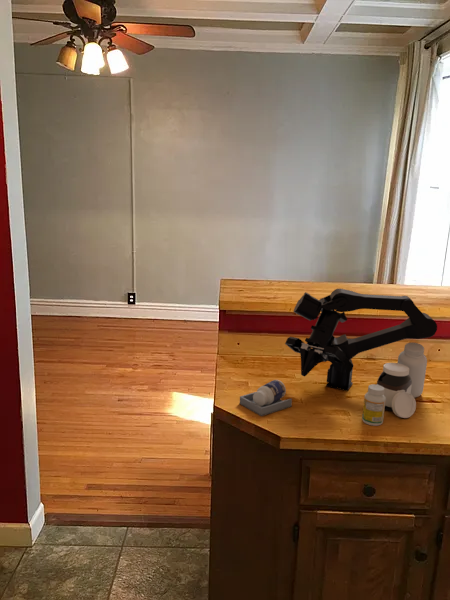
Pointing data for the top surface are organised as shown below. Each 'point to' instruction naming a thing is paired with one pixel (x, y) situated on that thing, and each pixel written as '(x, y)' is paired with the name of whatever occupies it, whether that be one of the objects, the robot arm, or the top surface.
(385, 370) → the spread jar
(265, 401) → the pill bottle
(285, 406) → the tray
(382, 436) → the top surface
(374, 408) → the supplement bottle
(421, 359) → the pill bottle
